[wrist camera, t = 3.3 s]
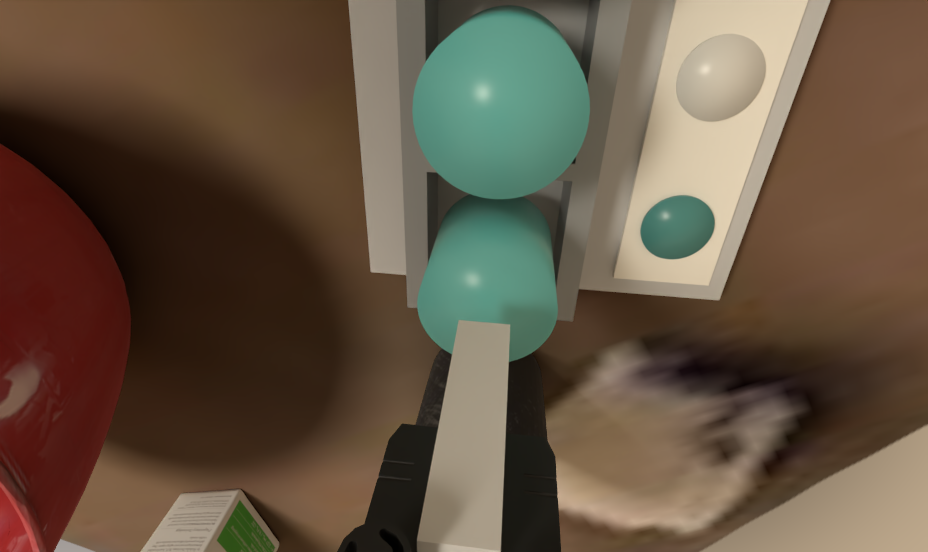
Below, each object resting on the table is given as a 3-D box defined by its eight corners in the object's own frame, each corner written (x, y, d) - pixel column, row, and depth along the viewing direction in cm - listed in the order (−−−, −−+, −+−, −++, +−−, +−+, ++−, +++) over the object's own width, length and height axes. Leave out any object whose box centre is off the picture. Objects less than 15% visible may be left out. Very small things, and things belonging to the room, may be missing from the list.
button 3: (438, 185, 20) (415, 243, 16) (557, 193, 20) (567, 254, 15) (438, 284, 23) (418, 357, 18) (544, 293, 22) (548, 369, 18)
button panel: (342, -282, 17) (281, -367, 13) (900, -283, 16) (1041, -377, 11) (379, 253, 28) (354, 304, 24) (706, 279, 27) (740, 337, 22)
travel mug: (420, 403, 34) (317, 830, 17) (438, 316, 30) (326, 767, 13) (528, 426, 34) (532, 874, 17) (561, 343, 30) (607, 825, 13)
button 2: (439, 2, 17) (409, 14, 12) (584, 8, 16) (605, 22, 12) (438, 143, 19) (414, 193, 15) (564, 151, 19) (575, 204, 15)
